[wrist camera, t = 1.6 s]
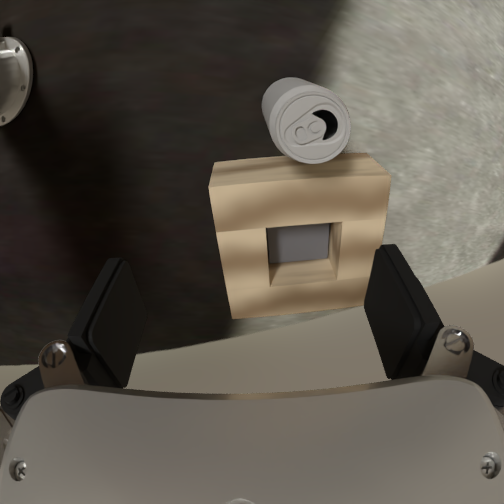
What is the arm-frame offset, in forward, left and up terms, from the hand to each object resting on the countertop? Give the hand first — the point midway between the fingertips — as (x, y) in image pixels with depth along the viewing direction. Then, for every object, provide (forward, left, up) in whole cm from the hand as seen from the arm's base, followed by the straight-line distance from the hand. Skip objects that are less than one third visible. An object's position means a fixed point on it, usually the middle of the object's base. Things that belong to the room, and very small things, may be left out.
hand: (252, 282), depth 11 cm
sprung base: (+13, +5, -23) cm, 27 cm away
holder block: (+13, +5, -25) cm, 29 cm away
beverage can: (-2, +5, -25) cm, 26 cm away
